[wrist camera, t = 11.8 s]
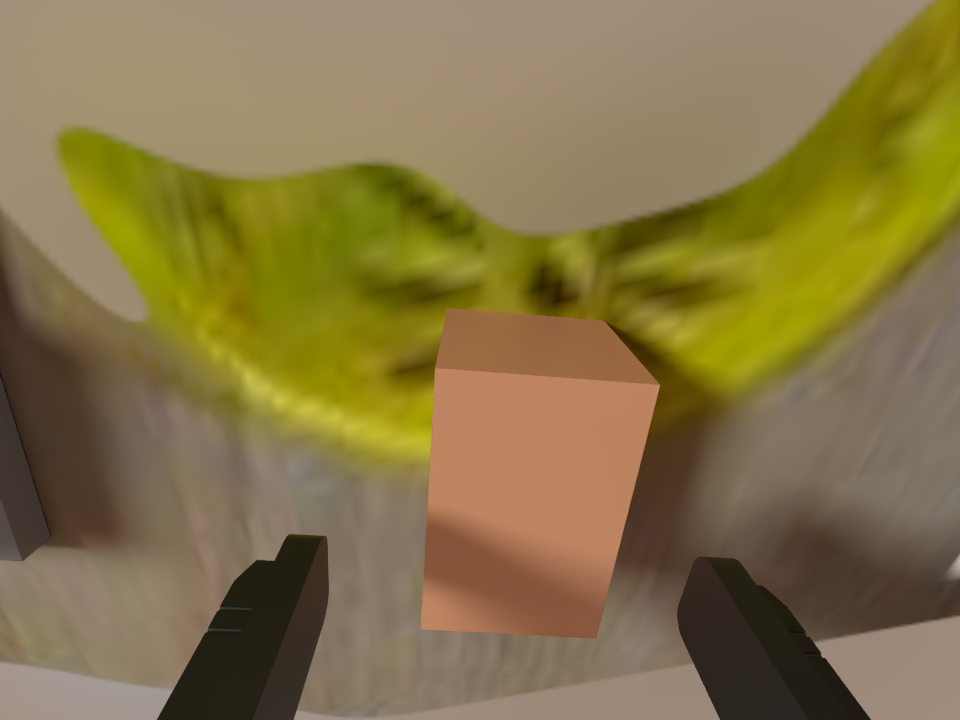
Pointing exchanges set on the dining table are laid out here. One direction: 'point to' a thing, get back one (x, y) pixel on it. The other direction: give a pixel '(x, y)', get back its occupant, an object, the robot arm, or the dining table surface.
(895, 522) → the dining table surface
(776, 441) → the dining table surface
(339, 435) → the dining table surface
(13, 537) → the baseplate
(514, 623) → the terracotta brick
